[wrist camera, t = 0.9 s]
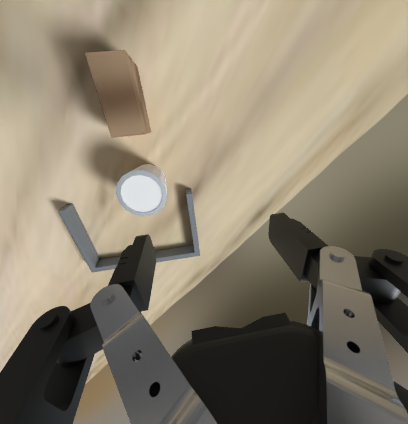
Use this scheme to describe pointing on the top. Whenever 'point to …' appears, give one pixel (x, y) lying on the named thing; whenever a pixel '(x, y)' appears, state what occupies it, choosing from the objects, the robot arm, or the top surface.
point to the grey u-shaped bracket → (99, 264)
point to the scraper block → (119, 92)
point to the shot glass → (142, 190)
